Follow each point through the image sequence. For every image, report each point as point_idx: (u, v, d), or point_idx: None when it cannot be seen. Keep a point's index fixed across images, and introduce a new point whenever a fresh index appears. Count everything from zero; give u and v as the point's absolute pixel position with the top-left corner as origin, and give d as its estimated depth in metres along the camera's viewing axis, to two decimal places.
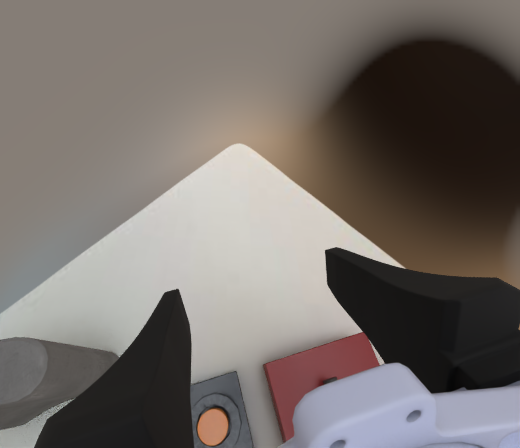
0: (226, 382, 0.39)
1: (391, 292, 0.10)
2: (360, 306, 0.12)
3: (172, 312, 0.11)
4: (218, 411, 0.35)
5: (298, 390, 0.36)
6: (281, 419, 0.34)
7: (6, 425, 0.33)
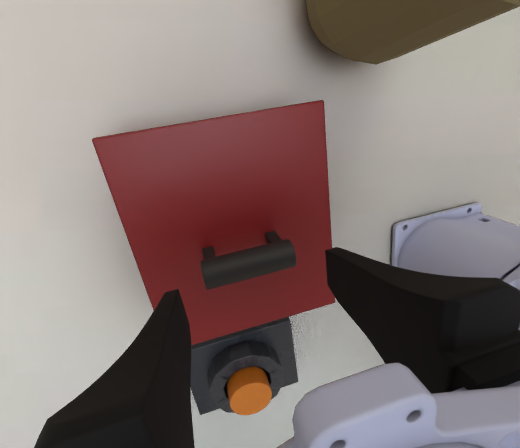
0: (194, 364, 0.25)
1: (391, 292, 0.10)
2: (360, 306, 0.12)
3: (172, 312, 0.11)
4: (233, 396, 0.24)
5: (217, 299, 0.19)
6: (256, 324, 0.21)
7: None
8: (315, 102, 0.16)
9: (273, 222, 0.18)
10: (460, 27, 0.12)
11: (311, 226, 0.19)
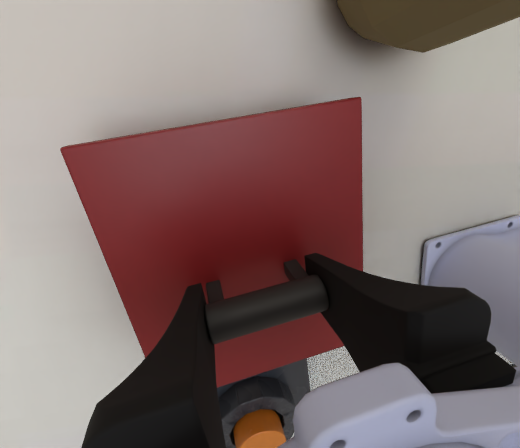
0: None
1: (362, 301, 0.09)
2: (336, 313, 0.12)
3: (199, 305, 0.11)
4: (242, 447, 0.20)
5: (224, 342, 0.16)
6: (270, 368, 0.17)
7: None
8: (351, 99, 0.13)
9: (294, 248, 0.15)
10: None
11: (339, 253, 0.16)
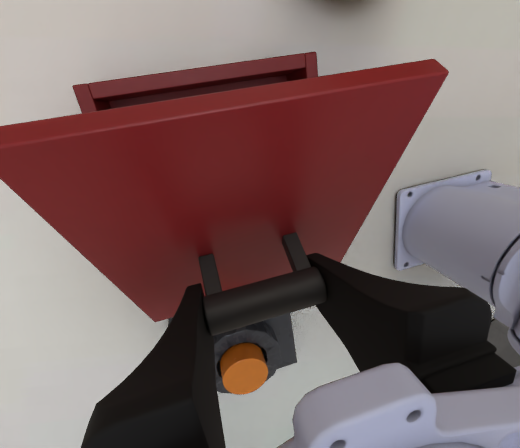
0: None
1: (362, 301, 0.09)
2: (336, 313, 0.12)
3: (199, 305, 0.11)
4: (226, 373, 0.22)
5: None
6: None
7: None
8: (434, 75, 0.08)
9: (297, 225, 0.13)
10: None
11: (341, 224, 0.14)
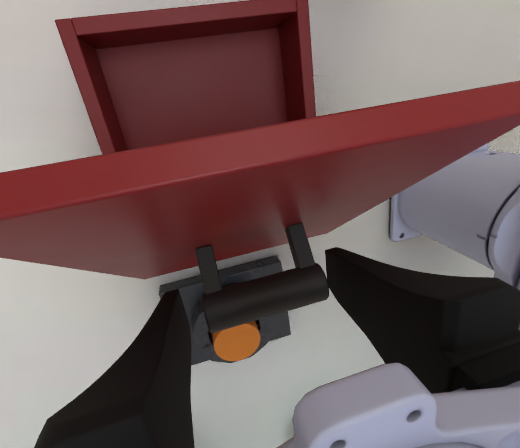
0: None
1: (391, 292, 0.10)
2: (360, 306, 0.12)
3: (172, 312, 0.11)
4: (218, 338, 0.21)
5: None
6: (241, 254, 0.19)
7: None
8: None
9: (306, 218, 0.12)
10: None
11: (350, 212, 0.13)
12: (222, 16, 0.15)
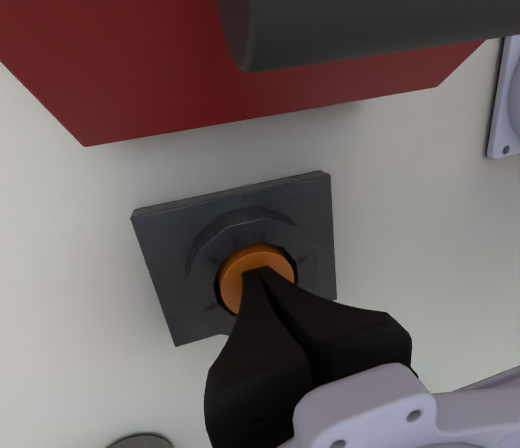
0: (160, 244, 0.14)
1: (292, 322, 0.09)
2: None
3: (263, 287, 0.11)
4: (227, 276, 0.13)
5: (211, 48, 0.06)
6: (281, 112, 0.10)
7: None
8: None
9: None
10: None
11: None
12: None
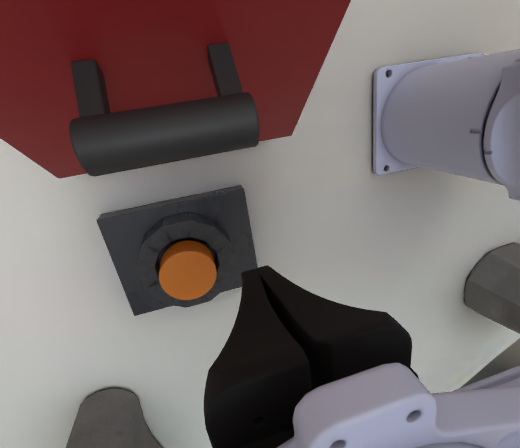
0: (119, 238, 0.20)
1: (292, 322, 0.09)
2: None
3: (263, 287, 0.11)
4: (163, 268, 0.18)
5: None
6: None
7: None
8: None
9: (228, 25, 0.09)
10: None
11: (298, 42, 0.10)
12: None
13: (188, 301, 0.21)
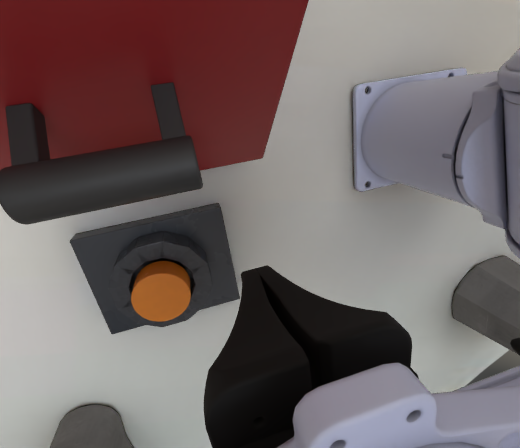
0: (93, 258, 0.20)
1: (292, 322, 0.09)
2: None
3: (263, 287, 0.11)
4: (135, 291, 0.18)
5: None
6: None
7: None
8: None
9: (168, 67, 0.08)
10: None
11: (249, 78, 0.10)
12: None
13: (165, 321, 0.21)
